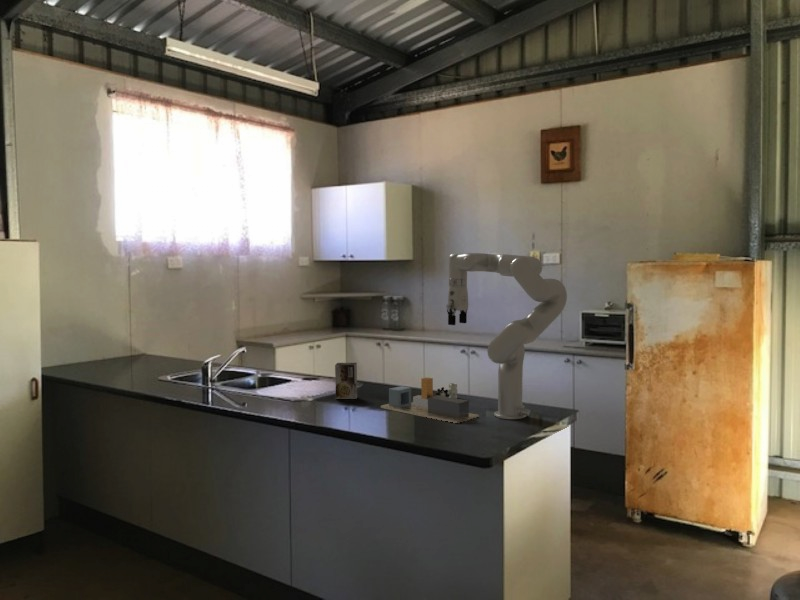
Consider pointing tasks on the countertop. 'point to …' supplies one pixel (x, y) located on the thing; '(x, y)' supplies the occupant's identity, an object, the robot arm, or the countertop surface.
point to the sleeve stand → (439, 409)
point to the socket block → (399, 396)
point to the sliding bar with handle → (424, 393)
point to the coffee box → (346, 380)
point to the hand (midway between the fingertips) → (457, 323)
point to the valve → (448, 391)
